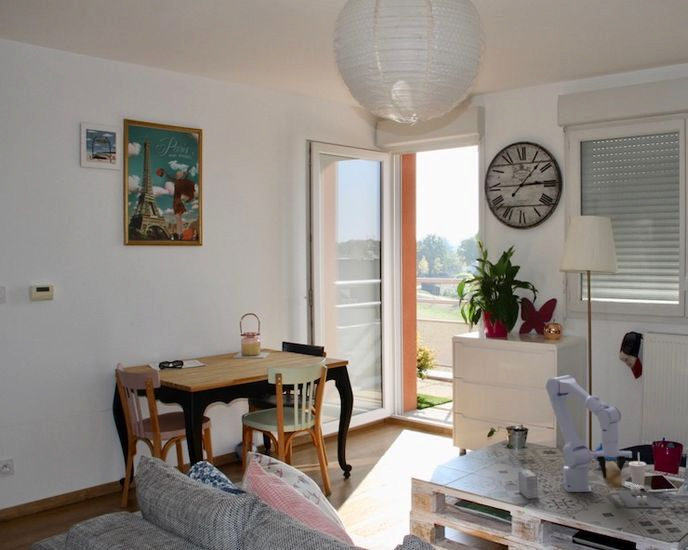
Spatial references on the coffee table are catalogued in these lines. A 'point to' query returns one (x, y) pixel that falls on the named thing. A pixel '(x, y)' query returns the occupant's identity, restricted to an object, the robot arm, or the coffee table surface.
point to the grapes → (605, 457)
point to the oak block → (613, 475)
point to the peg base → (638, 499)
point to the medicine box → (528, 484)
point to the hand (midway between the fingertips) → (611, 476)
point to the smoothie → (637, 471)
